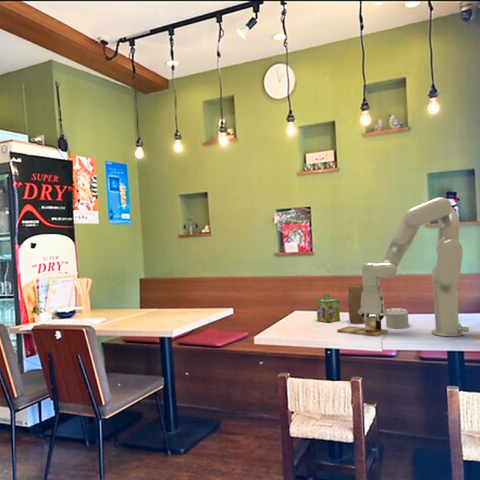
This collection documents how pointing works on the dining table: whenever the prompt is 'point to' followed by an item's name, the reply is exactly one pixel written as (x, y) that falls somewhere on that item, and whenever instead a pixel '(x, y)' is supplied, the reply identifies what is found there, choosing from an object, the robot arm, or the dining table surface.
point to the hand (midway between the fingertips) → (373, 328)
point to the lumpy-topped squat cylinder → (397, 318)
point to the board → (360, 331)
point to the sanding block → (371, 324)
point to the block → (355, 303)
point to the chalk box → (328, 309)
